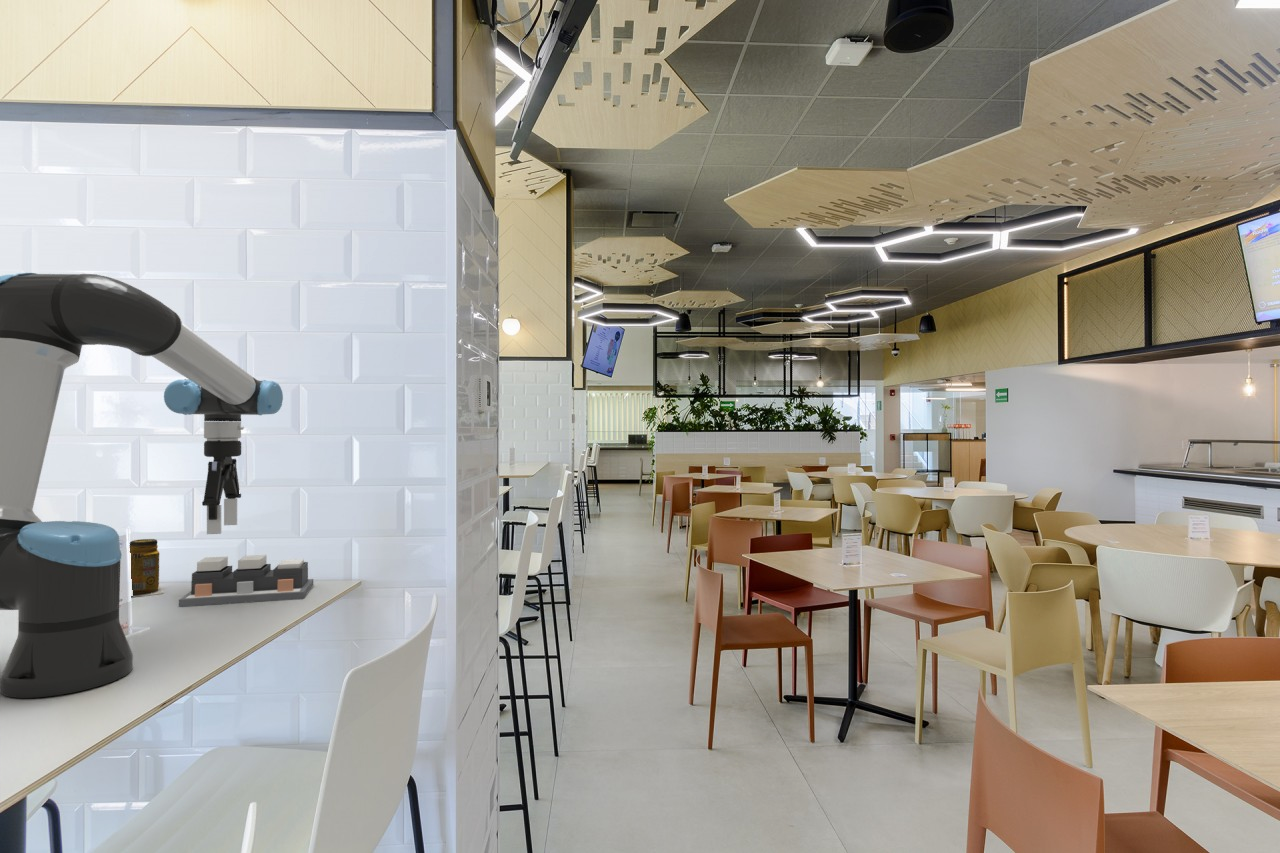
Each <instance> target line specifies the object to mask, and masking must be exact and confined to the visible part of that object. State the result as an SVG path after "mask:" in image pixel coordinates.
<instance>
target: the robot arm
mask: <svg viewBox="0 0 1280 853" xmlns="http://www.w3.org/2000/svg"><path fill="white" fill-rule="evenodd" d="M87 345H88V346H89V345H90V346H91V345H92V346H94V345H95V346H96V345H101V346H102V345H104V346H113V347H120V348H124V349H128V350H130V351H131V352H133V353H135V354H136V355H138V356H141V357H152V358H154V359H156V360H158V362H161V363H162V364H164V365H165V366H167V367H169V368H170V369H172V370H173V371H174V372H177V373H178V374H179V375H181V376H183V377H185V379H177V380H173V381H171V382H170V383H169V384H168V385H167V386H166V388H165V389H164V392H163V401H164V404H165V406H166V407H167V408H168V410H170V411H171V412H174V413H176V414H179V415H184V416H186V415H203V418H204V420H203V438H204V439H205V441H204V442H203V455H204V456H205V457H207V458H213V460H212V461H208V463H207V475H206V476H207V477H206V481H205V489H204V496H203V501H202V502H201V503H202V504H201V505H202V506H204V507H206V535H221V534H222V504H221V499H222V495H223V493H224V497H225V498H223V526H238V499H240V498H242V493H240V494H239V490H240V482H239V477H238V470H237V469H238V468H237V458H233V457H240V456H241V455H242V441H241V440H239V439H241V438H242V430H244V429H245V427H244V426H243V425H242V415H243V416H244V415H245V416H247V415H248V416H250V415H251V416H252V415H253V416H263V415H275V414H276V413H278V412H279V411H280V409H281V408H282V406H283V400H284V396H283V395H284V393H283V390H282V387H281V386H280V385H279V383H277V382H276V381H273V380H265V379H263V380H258V379H256V378H255V377H253V376H252V375H251V374H249V373H248V372H247V371H245V370H244V369H242V367H240V366H238V365H237V364H236V363H235V362H233V361H232V360H230V359H229V358H228V357H227V356H226V355H224V354H223V353H221V352H219V351H218V350H217V349H216V348H214V347H213V346H212V345H210V344H209V343H207V342H206V341H205V340H204V339H203V338H201V337H200V336H198V335H197V334H196V333H194V332H193V331H191V330H190V329H189V328H187V327H186V326H184V325H183V321H182V319H181V317H180V316H179V315H178V313H177V312H175V311H174V310H172V308H170V307H168V306H167V305H166V304H164V303H163V302H161V301H160V300H158V299H157V298H155V297H153V296H152V295H150V294H148V293H147V292H145V291H143V290H141V289H139V288H137V287H136V286H133V285H131V284H128V283H126V282H124V281H122V280H119V279H115V278H112V277H109V276H105V275H100V274H95V273H77V274H76V273H63V274H62V273H36V272H18V273H15V274H4V275H1V276H0V611H18V613H17V614H18V618H17V620H18V623H17V624H18V629H17V630H18V631H17V638H16V640H15V642H14V645H13V647H12V648H11V649H12V650H11V652H10V654H9V657H8V659H7V661H6V664H5V667H4V669H3V671H2V674H1V677H0V693H1V694H2V695H3V696H5V697H9V698H17V699H18V698H19V699H29V698H30V699H32V698H33V699H34V698H46V697H53V696H61V695H67V694H71V693H77V692H80V691H81V692H82V691H85V690H89V689H93V688H94V689H95V688H97V687H100V686H103V685H107V684H109V683H112V682H114V681H117V680H119V679H121V678H123V677H126V676H127V675H128V674H130V673H131V672H132V671H133V669H134V666H133V665H134V664H133V662H134V661H133V660H134V657H133V656H134V655H133V651H132V649H131V646H130V645H129V642H128V640H127V637H126V634H125V632H124V630H123V627H122V625H121V623H120V622H121V621H120V596H121V595H120V594H121V593H120V592H121V591H120V588H121V587H120V586H121V560H122V551H121V546H120V535H119V534H118V532H117V531H116V529H115V528H113V527H112V526H109V525H106V524H102V523H98V522H91V521H79V520H77V521H76V520H73V521H67V520H66V521H65V520H55V521H54V520H53V521H42V520H41V519H40V518H39V517H38V516H37V515H36V514H35V512H34V509H33V508H34V505H35V500H36V496H37V492H38V487H39V484H40V478H41V473H42V470H43V465H44V461H45V456H46V452H47V448H48V447H47V446H48V442H49V440H50V434H51V430H52V427H53V426H52V425H53V421H54V417H55V413H56V408H57V404H58V400H59V396H60V391H61V386H62V382H63V379H64V373H65V371H66V369H68V368H69V367H71V366H73V365H75V364H77V363H78V362H79V360H80V356H81V353H82V348H83V346H87Z"/></svg>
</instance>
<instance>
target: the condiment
mask: <svg viewBox="0 0 1280 853" xmlns="http://www.w3.org/2000/svg"><path fill="white" fill-rule="evenodd" d="M129 544H130V545H129V548H130V551H129V552H130V553H131V579H132V590H133V597H132V598H135V597H137V598H138V597H145V596H146V597H149V596H152V595H160V594H164V592H163V590H162V587H161V586H160V585H159V584H160V551H159V550H158V539H155V538H143V539H135V540H131V541H130V542H129Z"/></svg>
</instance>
